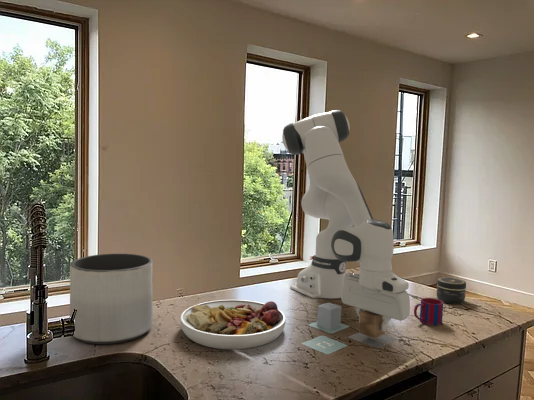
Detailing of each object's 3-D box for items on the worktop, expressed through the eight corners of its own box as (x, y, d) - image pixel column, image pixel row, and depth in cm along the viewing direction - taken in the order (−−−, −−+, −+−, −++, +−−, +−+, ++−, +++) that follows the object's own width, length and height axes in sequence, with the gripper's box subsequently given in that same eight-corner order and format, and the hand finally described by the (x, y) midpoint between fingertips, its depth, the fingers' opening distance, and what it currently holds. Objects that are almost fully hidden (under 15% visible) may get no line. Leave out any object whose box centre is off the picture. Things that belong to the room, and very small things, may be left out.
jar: (467, 300, 168) (468, 279, 167) (462, 306, 160) (464, 285, 159) (439, 295, 173) (440, 275, 173) (433, 301, 165) (434, 280, 164)
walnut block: (359, 332, 127) (360, 312, 126) (369, 328, 130) (370, 308, 130) (374, 338, 123) (375, 316, 123) (384, 333, 127) (385, 313, 126)
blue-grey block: (316, 325, 135) (317, 305, 135) (327, 321, 139) (328, 302, 138) (330, 329, 132) (331, 309, 131) (340, 325, 135) (341, 306, 135)
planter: (129, 312, 143) (129, 250, 142) (167, 332, 128) (168, 263, 126) (57, 329, 128) (56, 259, 126) (90, 354, 112) (90, 275, 110)
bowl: (200, 363, 110) (201, 331, 109) (167, 322, 136) (168, 296, 136) (304, 343, 124) (306, 315, 123) (256, 309, 150) (257, 286, 150)
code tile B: (307, 326, 136) (307, 324, 135) (326, 320, 142) (326, 318, 142) (331, 335, 129) (331, 333, 129) (349, 328, 135) (349, 326, 135)
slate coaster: (347, 339, 127) (347, 337, 127) (367, 330, 134) (367, 328, 134) (378, 350, 120) (378, 348, 120) (397, 341, 127) (397, 339, 127)
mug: (446, 324, 141) (448, 303, 140) (418, 327, 138) (420, 305, 138) (433, 317, 147) (434, 297, 147) (406, 319, 145) (407, 298, 144)
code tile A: (300, 345, 121) (300, 343, 121) (322, 337, 128) (322, 335, 128) (327, 356, 115) (327, 354, 115) (348, 347, 121) (348, 345, 121)
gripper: (338, 272, 131) (335, 319, 132) (402, 288, 116) (399, 340, 117) (350, 269, 135) (348, 314, 136) (414, 284, 120) (411, 334, 121)
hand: (372, 326), depth 126 cm, fingers closed on walnut block, 5 cm apart
